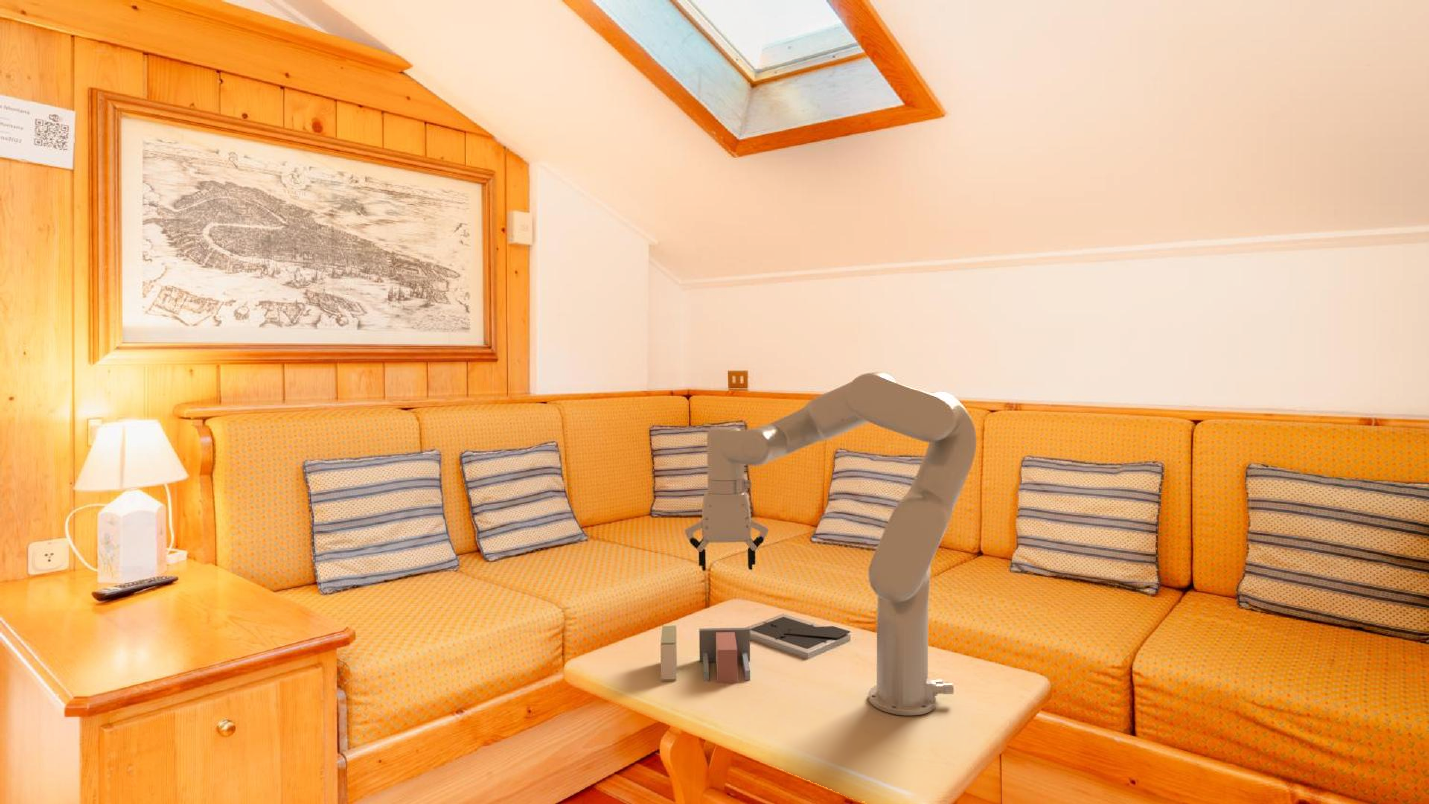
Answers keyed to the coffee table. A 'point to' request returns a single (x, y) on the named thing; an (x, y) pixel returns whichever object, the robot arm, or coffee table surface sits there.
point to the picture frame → (798, 636)
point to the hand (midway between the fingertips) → (727, 568)
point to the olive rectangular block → (668, 653)
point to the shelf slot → (709, 647)
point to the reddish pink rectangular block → (726, 657)
